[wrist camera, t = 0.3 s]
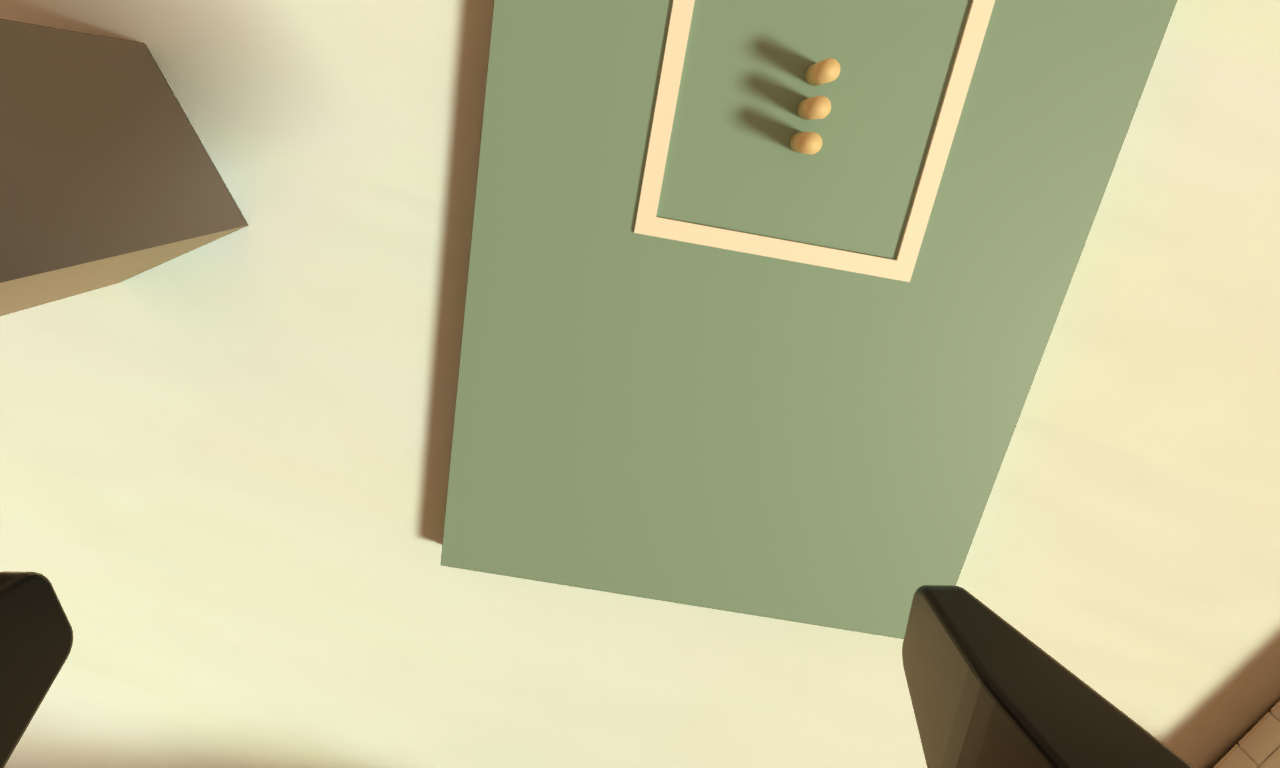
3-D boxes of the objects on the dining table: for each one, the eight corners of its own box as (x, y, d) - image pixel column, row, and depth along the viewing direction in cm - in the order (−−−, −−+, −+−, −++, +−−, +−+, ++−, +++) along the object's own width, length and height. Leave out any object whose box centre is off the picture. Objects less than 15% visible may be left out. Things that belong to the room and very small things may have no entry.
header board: (922, 623, 24) (951, 677, 22) (449, 548, 24) (426, 594, 21) (1168, -46, 18) (1248, -73, 15) (520, -176, 17) (499, -226, 15)
